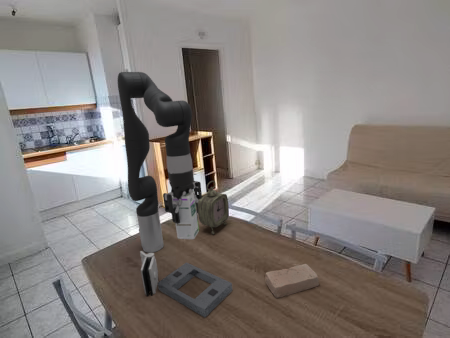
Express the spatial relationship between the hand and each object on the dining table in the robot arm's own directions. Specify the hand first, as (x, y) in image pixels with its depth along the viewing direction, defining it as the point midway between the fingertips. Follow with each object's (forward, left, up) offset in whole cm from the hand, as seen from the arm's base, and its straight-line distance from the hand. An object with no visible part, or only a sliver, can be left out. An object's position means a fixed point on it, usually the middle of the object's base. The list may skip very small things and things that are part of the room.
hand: (186, 217), depth 87 cm
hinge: (-17, -7, -28) cm, 33 cm away
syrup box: (0, 0, -6) cm, 6 cm away
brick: (+27, +20, -28) cm, 44 cm away
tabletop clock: (-23, +38, -28) cm, 52 cm away
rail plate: (0, 0, -27) cm, 27 cm away
